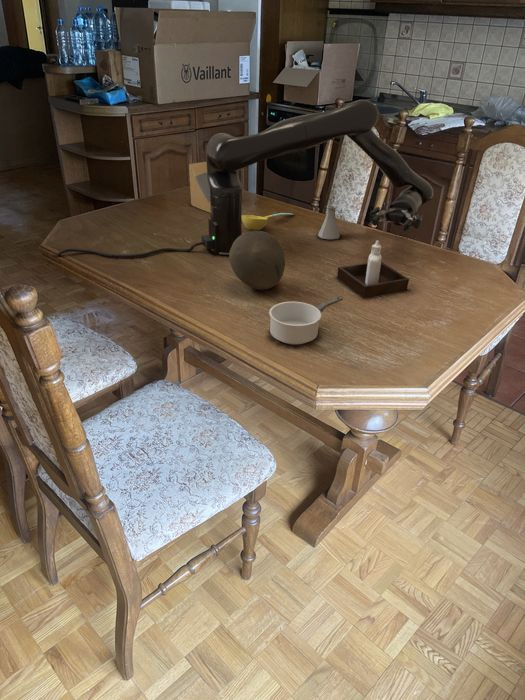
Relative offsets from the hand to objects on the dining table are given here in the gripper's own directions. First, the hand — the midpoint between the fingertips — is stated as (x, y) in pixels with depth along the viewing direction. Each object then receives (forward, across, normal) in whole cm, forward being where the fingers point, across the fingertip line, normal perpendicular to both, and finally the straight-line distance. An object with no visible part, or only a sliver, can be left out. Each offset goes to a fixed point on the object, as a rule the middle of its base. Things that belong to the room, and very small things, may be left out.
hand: (389, 224), depth 148 cm
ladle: (-20, -46, +13) cm, 52 cm away
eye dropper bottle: (+11, 0, +13) cm, 17 cm away
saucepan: (+43, -6, +13) cm, 45 cm away
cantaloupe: (+28, -26, +13) cm, 41 cm away
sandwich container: (-26, -72, +13) cm, 78 cm away
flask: (-19, -23, +14) cm, 33 cm away
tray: (+11, 0, +13) cm, 17 cm away
